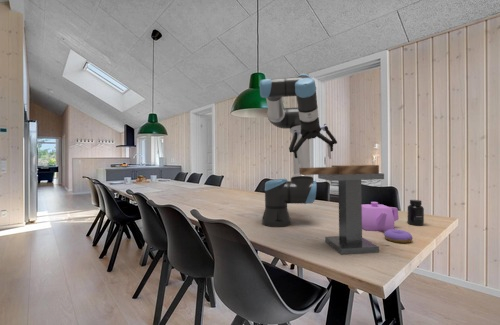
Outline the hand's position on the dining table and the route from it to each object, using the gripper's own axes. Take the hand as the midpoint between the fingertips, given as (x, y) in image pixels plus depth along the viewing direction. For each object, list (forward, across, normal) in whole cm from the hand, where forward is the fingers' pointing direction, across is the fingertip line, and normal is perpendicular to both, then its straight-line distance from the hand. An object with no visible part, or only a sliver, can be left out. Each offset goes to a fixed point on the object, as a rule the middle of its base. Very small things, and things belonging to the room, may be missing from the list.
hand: (314, 160), depth 112 cm
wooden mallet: (-5, +6, -18) cm, 19 cm away
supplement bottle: (+46, +44, -8) cm, 64 cm away
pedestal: (+19, +6, -33) cm, 39 cm away
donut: (+28, +26, -27) cm, 47 cm away
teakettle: (+38, +23, -12) cm, 46 cm away
